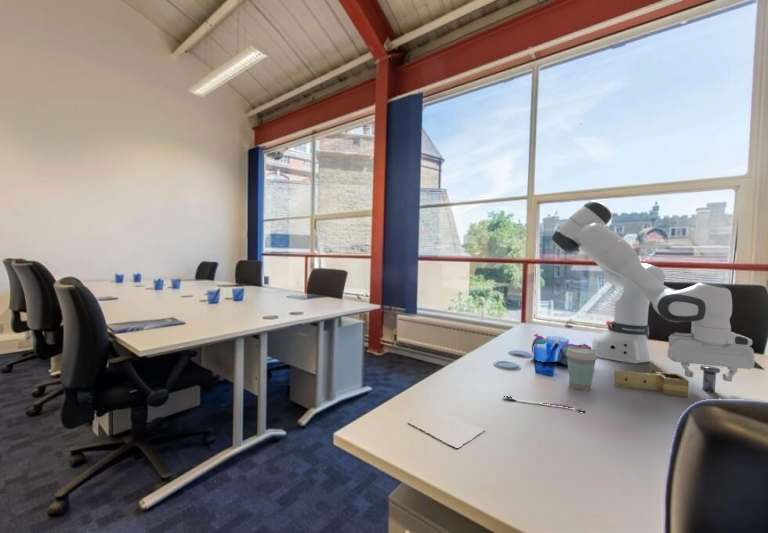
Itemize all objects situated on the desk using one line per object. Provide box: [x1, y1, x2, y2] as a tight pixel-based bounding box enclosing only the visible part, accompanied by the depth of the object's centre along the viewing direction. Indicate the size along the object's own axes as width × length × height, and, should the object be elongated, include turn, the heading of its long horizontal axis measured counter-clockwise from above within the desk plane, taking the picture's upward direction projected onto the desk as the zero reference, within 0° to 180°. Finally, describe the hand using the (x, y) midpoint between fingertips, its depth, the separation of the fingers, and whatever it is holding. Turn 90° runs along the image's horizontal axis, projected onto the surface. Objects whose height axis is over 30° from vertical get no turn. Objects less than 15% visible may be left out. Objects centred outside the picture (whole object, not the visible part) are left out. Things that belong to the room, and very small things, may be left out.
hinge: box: [613, 360, 690, 397], centre depth 112 cm, size 18×18×5 cm
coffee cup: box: [566, 347, 598, 391], centre depth 108 cm, size 8×9×12 cm
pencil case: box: [531, 333, 595, 367], centre depth 130 cm, size 21×9×10 cm, turn 45°
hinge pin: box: [699, 364, 721, 393], centre depth 106 cm, size 4×4×7 cm
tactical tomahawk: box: [503, 395, 586, 414], centre depth 97 cm, size 21×7×1 cm, turn 68°
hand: (707, 378), depth 106 cm, fingers open, 8 cm apart
